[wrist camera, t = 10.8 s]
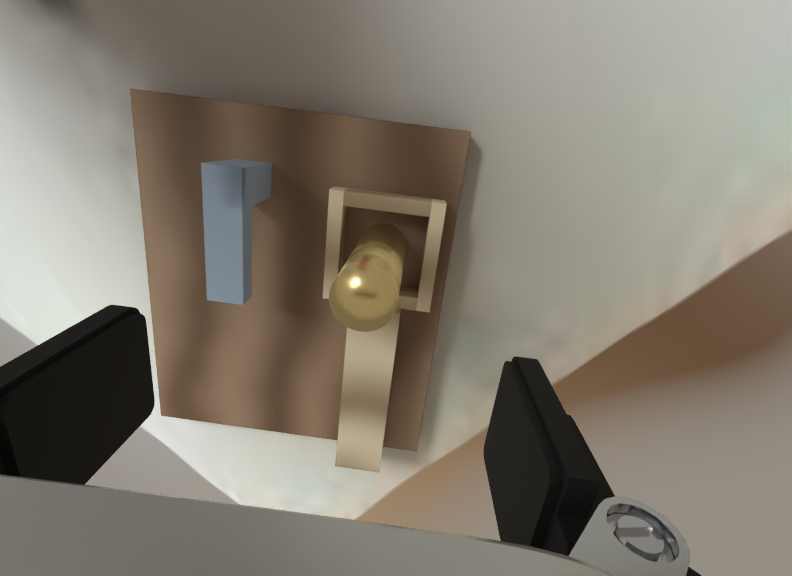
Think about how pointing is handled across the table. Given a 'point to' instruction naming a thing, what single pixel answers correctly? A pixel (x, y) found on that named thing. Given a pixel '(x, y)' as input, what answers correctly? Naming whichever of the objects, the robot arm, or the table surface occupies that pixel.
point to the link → (374, 349)
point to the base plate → (283, 259)
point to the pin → (370, 280)
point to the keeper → (231, 224)
